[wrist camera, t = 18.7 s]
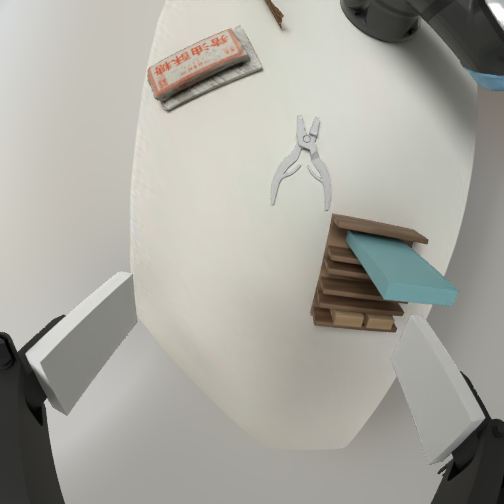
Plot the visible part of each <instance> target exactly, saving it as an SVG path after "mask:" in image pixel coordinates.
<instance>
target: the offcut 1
mask: <svg viewBox="0 0 504 504" xmlns="http://www.w3.org/2000/svg"><path fill="white" fill-rule="evenodd" d="M330 312H331V316H332V320H333V324H334V325H342V326H352V327H361V326H362V323H363V320H364V316H363V313H362V312H354V311H345V310H336V309H330Z"/></svg>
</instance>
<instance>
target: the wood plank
mask: <svg viewBox="0 0 504 504" xmlns="http://www.w3.org/2000/svg"><path fill="white" fill-rule="evenodd" d="M265 1H266V3H267V5H268V6H269V8H270V10H271V11H272V13H273V15H274V17H275V18H276V20H277V22H278V24H279V26H280V27H281V22H282V17H283V16H284V15H283V14H282V13H281V12H280V10H279V9H278V8H277V7H275V6H274V4H273V3H272V2H271V0H265Z"/></svg>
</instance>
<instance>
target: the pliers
mask: <svg viewBox="0 0 504 504" xmlns="http://www.w3.org/2000/svg"><path fill="white" fill-rule="evenodd" d="M318 125H319V118H318V117H315V119H314V122H313V124H312V127H311V130H310V132H309V134H306V133H305V131H304V125H303V121H302V116H301V115H297V138H298V142H297V143H296V146H295V148H294V150H293V151H292V152H291V153H290V154H289V155H288V156H287V157H286V158H284V159H283V161H282V162H281V163H280V165H279V166H278V168H277V170H276V172H275V175H274V178H273V181H272V185H271V204H274V201H275V197H276V192H277V189H278V186H279V183H280V180H281V179H282V178H283V177H285V176H288V175H291V174H292V173H294V172H295V171H296V170H297V169H298V168H299V167H300V164H299V165H298V166H297V168H296V169H295V170H293V171H292V172H290V173H284V172H285V171H286V169H287V168H288V167H289V166H290V165H291V164H292V163H294V162H295V161H296V160H297V159H298V156H299V154H300V151H301V149H303V148H307V149H309V150H310V156H311V161H312V162H313V164H314V165H315V166H316V168H317V169H318V171H319V172H320V175H321V177H322V178H320V177H317V176H316V175H315V174H314V173H313V172H312V170H311V169H310V167H309V165H308V166H307V167H308V169H309V171H310V172H311V174H312V175H313V176H314V177H315V178H317V179H318V180H320V181H321V182H322V183H323V186H324V193H325V210H328V208H329V204H330V200H331V181H330V176H329V173H328V170H327V168H326V166H325V164H324V162H323V161H322V160H321V159H320V157H319V155H318V152H317V148H316V144H315V143H314V142H315V140H316V137H317V132H318Z"/></svg>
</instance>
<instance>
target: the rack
mask: <svg viewBox="0 0 504 504" xmlns="http://www.w3.org/2000/svg"><path fill="white" fill-rule="evenodd" d="M348 229H349V230H355V231H360V232H366V233H371V234H377V235H382V236H387V237H393V238H398V239H400V240H402V241H403V242H404V243H405V244H407V245H408V246H409V247H410V248H412V245H413V242H418V243H423V244H428V239H427V238H425V237H424V236H422V235H421V234H419V233H418V232H416V231H415V230H412V229H408V228H403V227H399V226H394V225H389V224H384V223H379V222H375V221H369V220H364V219H359V218H354V217H349V216H343V215H338V214H332V219H331V224H330V229H329V234H328V239H327V244H326V248H325V253H324V258H323V262H322V266H321V271H320V275H319V279H318V284H317V288H316V292H315V296H314V300H313V304H312V308H311V312H310V314H311V315H313V319H314V325H317V326H326V327H335V328H345V329H356V330H368V331H381V332H396V331H397V328H396V326H395V324H394V323H393V325H392V327H391V330H388V329H375V328H366V326H365V324H364V322H363V323H362V326H361V327H352V326H342V325H334V324H333V320H332V316H331V312H330V309H336V310H345V311H354V312H363V313H373V314H384V315H395V316H403V314H404V311H403V310H402V308H401V307H400V305H399V304H398V303H406V304H408V302H404V301H394V300H385V299H383V297H382V295H381V294H380V292H379V291H378V289H377V287H376V286H375V284H374V283H373V281H372V280H371V278H370V276H369V275H368V273H367V272H366V270H365V269H364V267H363V266H362V264H361V263H360V261H359V260H358V258H357V257H356V255H355V254H354V252H353V251H352V249H351V248H350V246H349V245H348V243H347V242H346V237H347V232H348Z"/></svg>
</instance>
